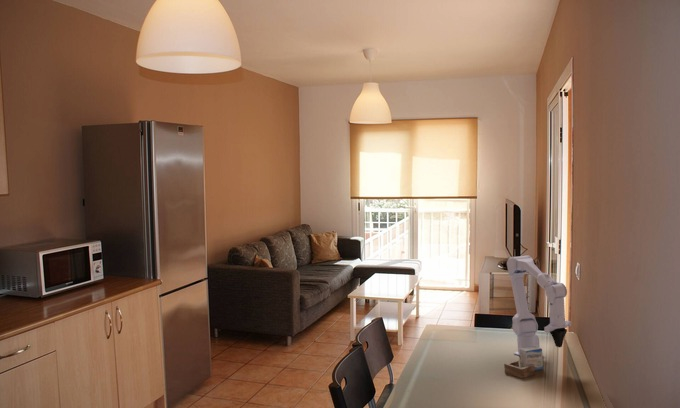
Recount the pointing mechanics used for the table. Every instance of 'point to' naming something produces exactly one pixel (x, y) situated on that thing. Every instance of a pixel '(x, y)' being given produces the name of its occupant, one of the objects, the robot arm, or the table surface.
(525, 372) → the open wooden box
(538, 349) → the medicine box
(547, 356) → the table surface
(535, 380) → the table surface
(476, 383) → the table surface
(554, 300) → the robot arm
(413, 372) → the table surface
